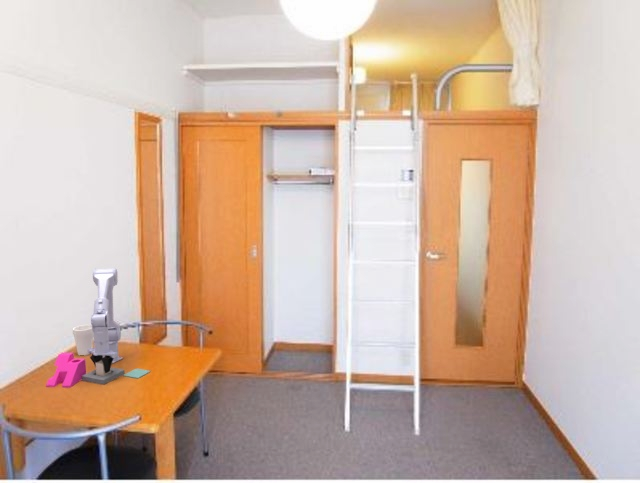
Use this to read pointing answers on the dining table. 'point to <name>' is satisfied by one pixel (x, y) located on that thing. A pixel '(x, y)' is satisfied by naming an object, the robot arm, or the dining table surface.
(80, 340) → the foam cup
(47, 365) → the dining table surface
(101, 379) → the pocket board
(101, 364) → the block
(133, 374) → the pad
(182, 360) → the dining table surface
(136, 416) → the dining table surface
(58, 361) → the bracket
